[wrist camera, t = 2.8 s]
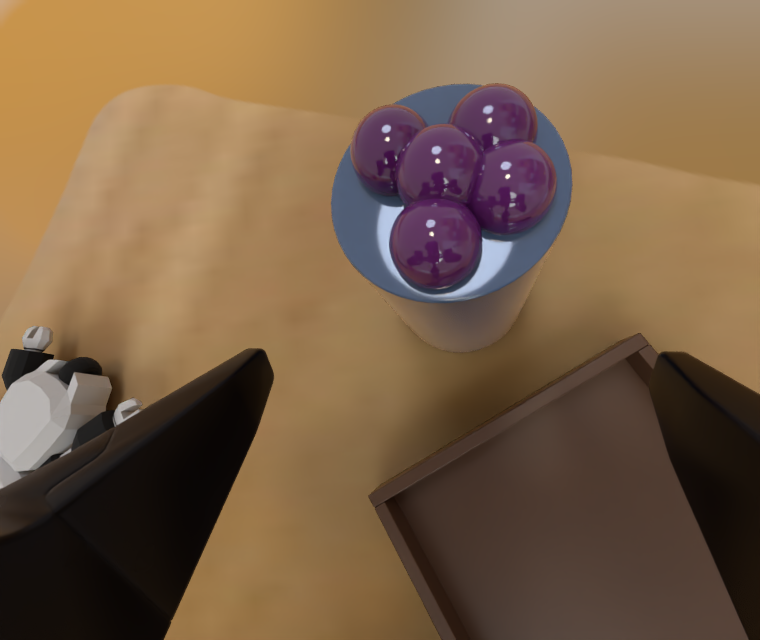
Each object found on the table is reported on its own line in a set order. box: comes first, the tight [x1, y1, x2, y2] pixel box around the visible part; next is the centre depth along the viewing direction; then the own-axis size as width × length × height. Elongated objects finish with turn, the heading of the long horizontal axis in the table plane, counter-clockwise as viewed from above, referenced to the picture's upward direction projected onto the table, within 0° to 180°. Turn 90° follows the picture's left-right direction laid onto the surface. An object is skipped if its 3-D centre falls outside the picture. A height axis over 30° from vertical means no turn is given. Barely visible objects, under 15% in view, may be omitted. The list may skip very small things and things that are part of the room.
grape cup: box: [331, 83, 572, 353], centre depth 15 cm, size 7×7×13 cm
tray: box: [369, 333, 748, 640], centre depth 16 cm, size 16×14×2 cm
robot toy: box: [0, 326, 144, 489], centre depth 23 cm, size 12×4×15 cm
